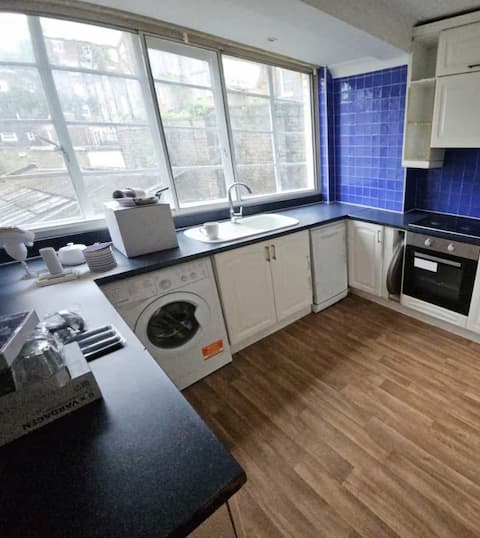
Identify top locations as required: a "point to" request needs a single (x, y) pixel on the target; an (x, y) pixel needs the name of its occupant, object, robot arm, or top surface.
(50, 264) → the beverage can
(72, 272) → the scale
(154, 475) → the top surface
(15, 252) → the chalice
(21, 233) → the robot arm
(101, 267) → the grey ribbed cylinder
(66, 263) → the teapot
